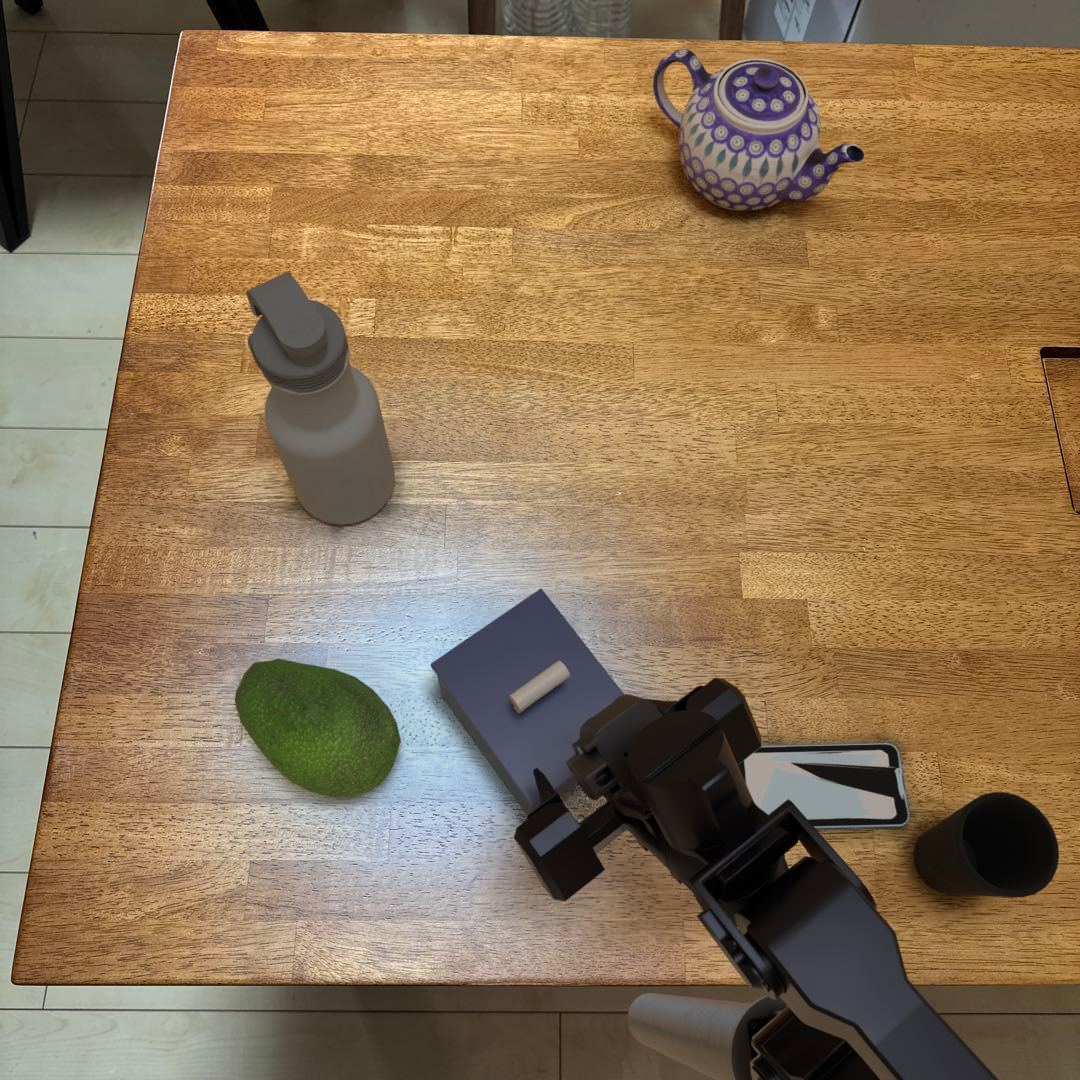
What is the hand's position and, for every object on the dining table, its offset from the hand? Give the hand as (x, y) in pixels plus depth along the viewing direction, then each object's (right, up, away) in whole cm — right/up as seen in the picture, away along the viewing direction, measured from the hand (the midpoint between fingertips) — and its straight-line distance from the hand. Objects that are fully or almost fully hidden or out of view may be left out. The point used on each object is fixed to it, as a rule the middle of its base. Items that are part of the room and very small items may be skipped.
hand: (584, 737), depth 78 cm
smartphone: (+21, -7, +11) cm, 25 cm away
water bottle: (-23, +21, +22) cm, 38 cm away
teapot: (+19, +57, +39) cm, 71 cm away
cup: (+31, -13, +9) cm, 35 cm away
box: (-4, -1, +13) cm, 14 cm away
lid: (-4, +2, +7) cm, 8 cm away
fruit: (-23, -2, +12) cm, 26 cm away
